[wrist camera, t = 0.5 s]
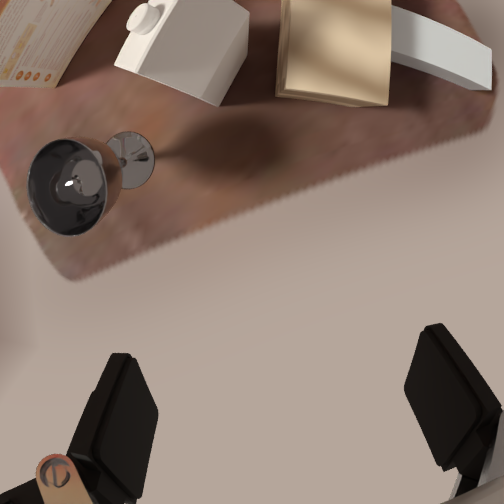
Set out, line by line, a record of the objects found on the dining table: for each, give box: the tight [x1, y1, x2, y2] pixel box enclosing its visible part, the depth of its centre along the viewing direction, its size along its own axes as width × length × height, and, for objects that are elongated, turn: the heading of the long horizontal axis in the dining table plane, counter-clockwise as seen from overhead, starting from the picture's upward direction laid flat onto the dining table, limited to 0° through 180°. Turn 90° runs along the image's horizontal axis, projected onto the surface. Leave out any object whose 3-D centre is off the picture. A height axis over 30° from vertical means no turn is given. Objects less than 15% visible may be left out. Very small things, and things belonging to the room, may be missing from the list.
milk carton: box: [114, 0, 250, 107], centre depth 22 cm, size 7×7×19 cm
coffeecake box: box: [0, 0, 112, 88], centre depth 18 cm, size 15×7×20 cm, turn 143°
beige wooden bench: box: [275, 0, 392, 107], centre depth 24 cm, size 20×9×10 cm, turn 176°
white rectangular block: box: [391, 5, 492, 90], centre depth 27 cm, size 6×16×5 cm, turn 86°
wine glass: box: [27, 132, 154, 237], centre depth 28 cm, size 8×8×15 cm
